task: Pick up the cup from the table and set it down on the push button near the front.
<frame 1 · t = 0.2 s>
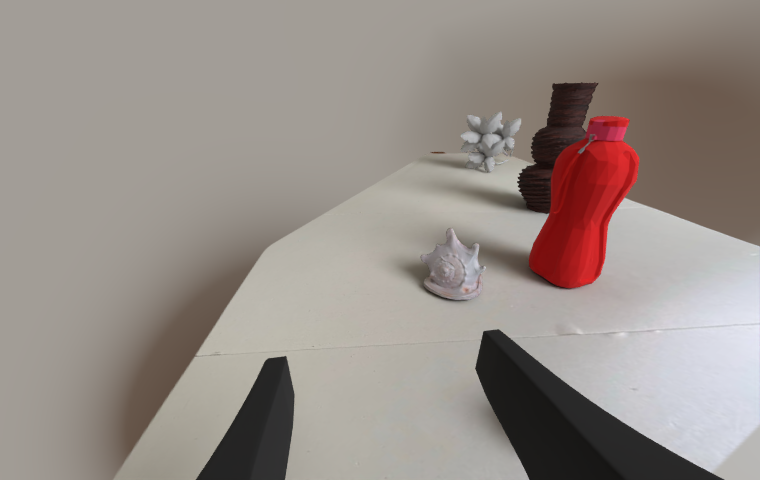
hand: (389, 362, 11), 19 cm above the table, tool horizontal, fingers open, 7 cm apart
water bottle: (556, 276, 50), on the table
flower bouquet: (486, 166, 127), on the table
seashell: (452, 280, 49), on the table
vase: (542, 208, 80), on the table
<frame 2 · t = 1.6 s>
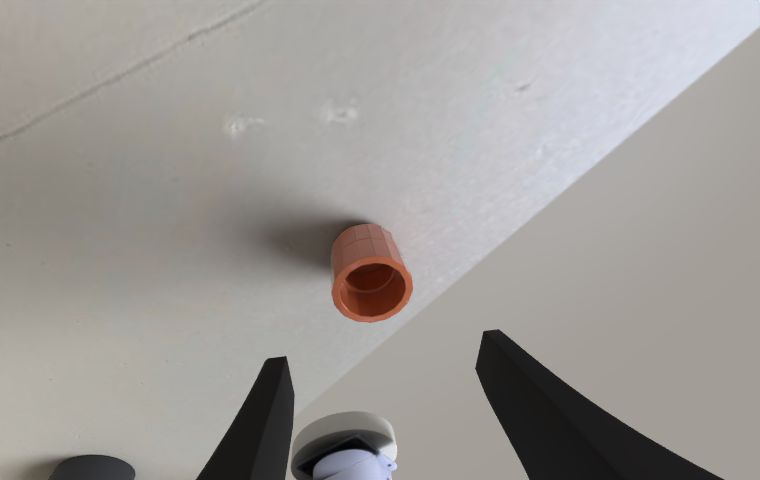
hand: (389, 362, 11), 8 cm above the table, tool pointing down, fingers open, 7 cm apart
cup: (363, 249, 18), on the table
push button: (96, 474, 24), on the table
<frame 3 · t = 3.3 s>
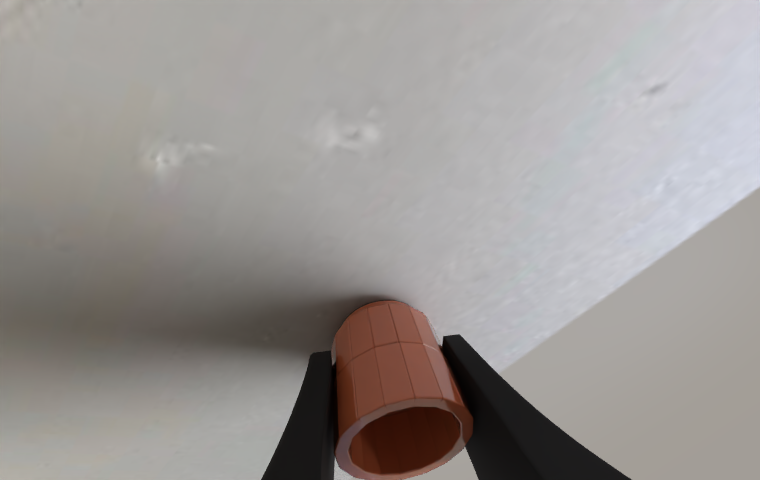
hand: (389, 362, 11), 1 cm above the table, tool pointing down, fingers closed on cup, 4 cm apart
cup: (381, 334, 12), on the table, touching gripper
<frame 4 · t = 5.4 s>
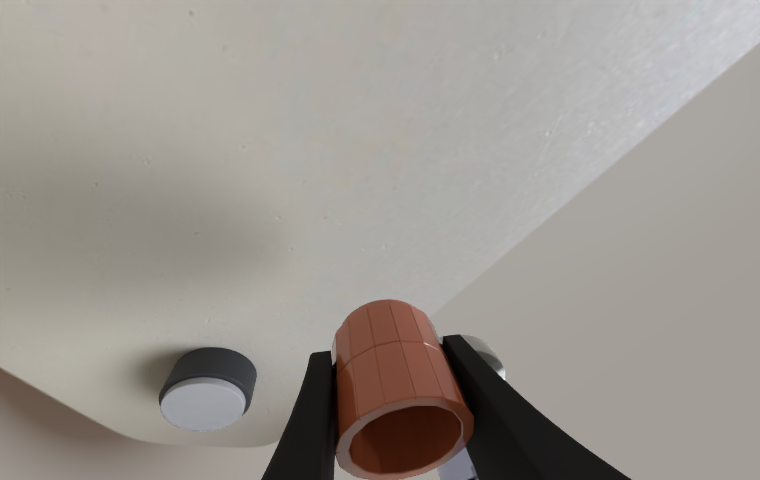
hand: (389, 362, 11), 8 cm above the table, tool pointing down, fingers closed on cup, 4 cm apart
cup: (382, 333, 12), point 7 cm above the table, touching gripper
push button: (216, 375, 21), on the table
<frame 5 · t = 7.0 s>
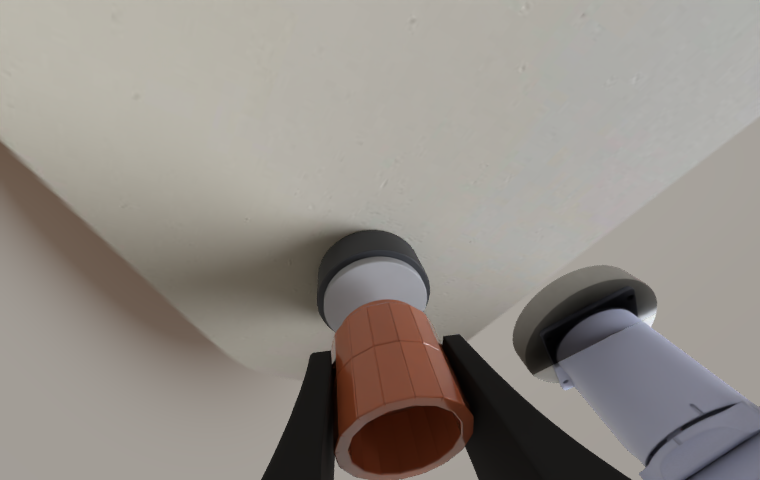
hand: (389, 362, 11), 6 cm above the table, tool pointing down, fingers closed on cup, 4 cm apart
cup: (381, 333, 12), point 4 cm above the table, touching gripper
push button: (369, 275, 16), on the table
when the fingers open (4 cm above the table, at t = 8.0 s): cup stays where it is, resting on push button.
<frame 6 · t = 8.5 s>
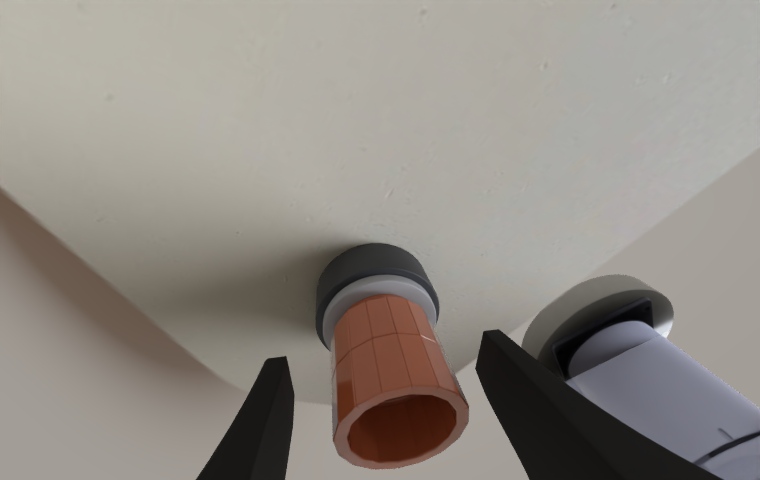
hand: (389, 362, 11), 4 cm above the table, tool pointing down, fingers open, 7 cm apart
cup: (380, 327, 12), point 2 cm above the table, touching push button
push button: (373, 291, 14), on the table
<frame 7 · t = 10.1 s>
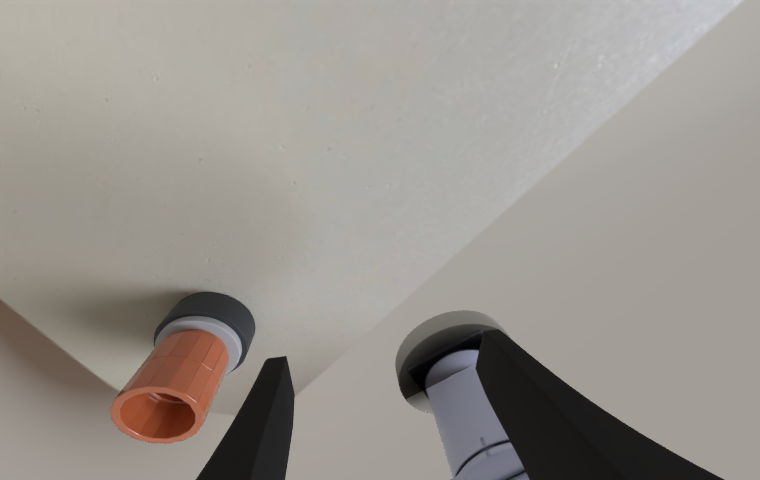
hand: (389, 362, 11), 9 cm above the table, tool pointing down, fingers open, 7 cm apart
cup: (197, 351, 18), point 2 cm above the table, touching push button
push button: (214, 325, 20), on the table
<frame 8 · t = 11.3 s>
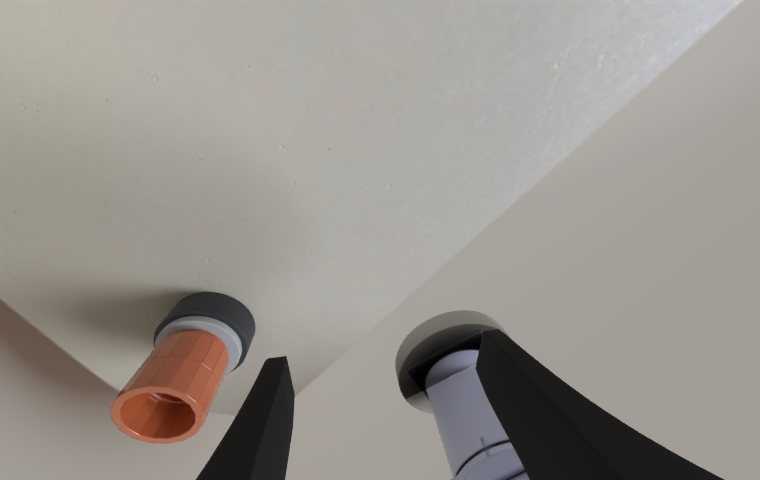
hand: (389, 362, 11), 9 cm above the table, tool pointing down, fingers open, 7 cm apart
cup: (197, 351, 18), point 2 cm above the table, touching push button
push button: (214, 325, 20), on the table
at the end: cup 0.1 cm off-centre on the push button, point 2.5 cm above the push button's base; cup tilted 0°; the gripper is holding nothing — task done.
